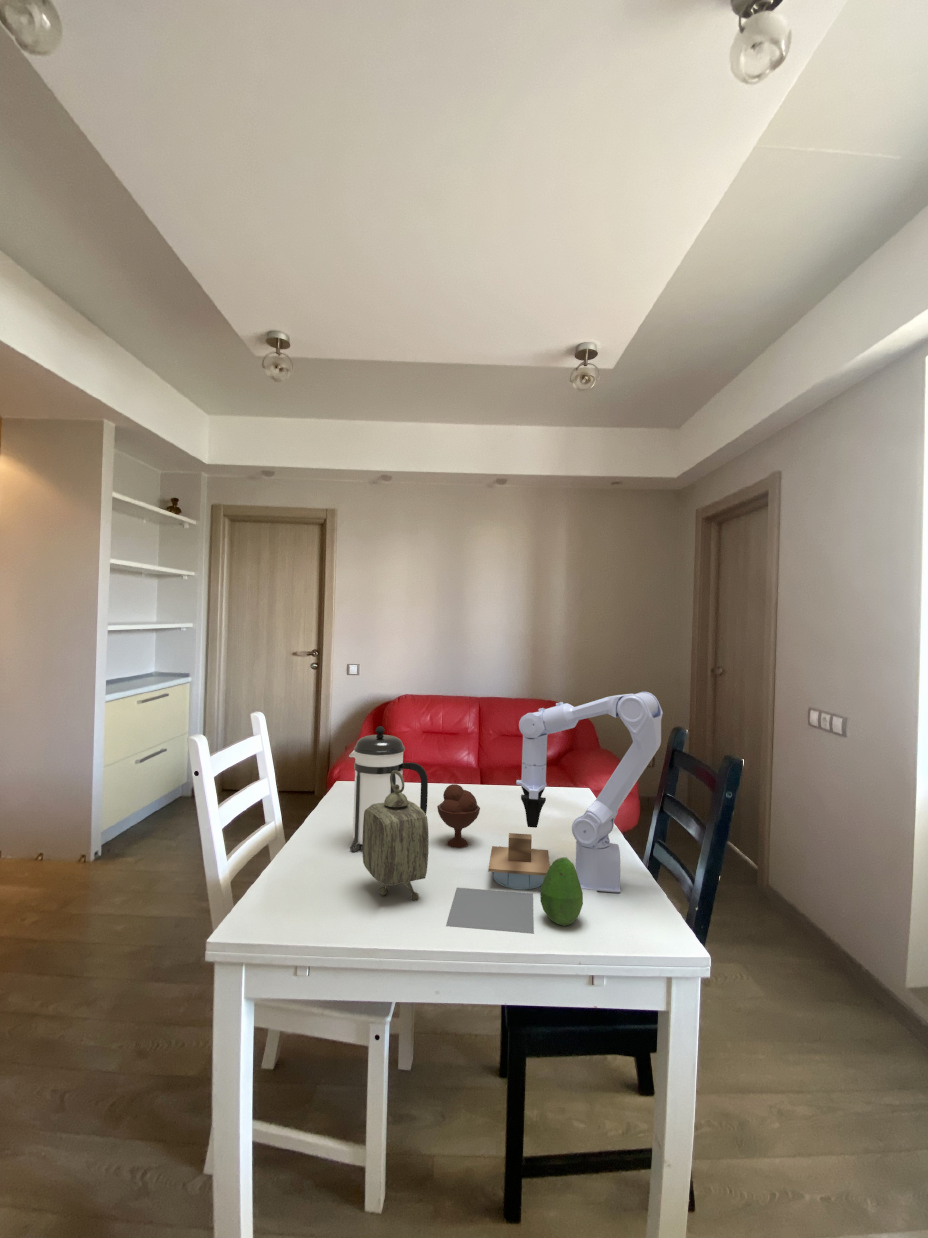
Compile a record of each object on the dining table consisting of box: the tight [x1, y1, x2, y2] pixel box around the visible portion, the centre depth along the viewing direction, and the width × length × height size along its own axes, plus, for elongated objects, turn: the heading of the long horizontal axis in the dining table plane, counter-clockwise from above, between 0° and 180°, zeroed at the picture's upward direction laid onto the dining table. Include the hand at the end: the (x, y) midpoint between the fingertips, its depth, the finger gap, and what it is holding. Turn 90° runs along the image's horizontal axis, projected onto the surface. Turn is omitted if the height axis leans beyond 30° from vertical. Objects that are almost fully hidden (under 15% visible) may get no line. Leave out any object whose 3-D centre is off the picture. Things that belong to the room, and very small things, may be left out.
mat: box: [445, 887, 535, 935], centre depth 110 cm, size 16×16×1 cm
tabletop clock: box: [361, 770, 430, 902], centre depth 116 cm, size 14×9×25 cm, turn 30°
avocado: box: [539, 857, 584, 927], centre depth 106 cm, size 8×8×12 cm
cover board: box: [487, 832, 551, 876], centre depth 124 cm, size 13×13×6 cm
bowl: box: [493, 872, 545, 891], centre depth 124 cm, size 11×11×4 cm
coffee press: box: [348, 725, 429, 853], centre depth 143 cm, size 17×16×30 cm
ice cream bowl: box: [436, 783, 481, 849], centre depth 145 cm, size 11×11×15 cm
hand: (532, 821), depth 132 cm, fingers open, 7 cm apart
